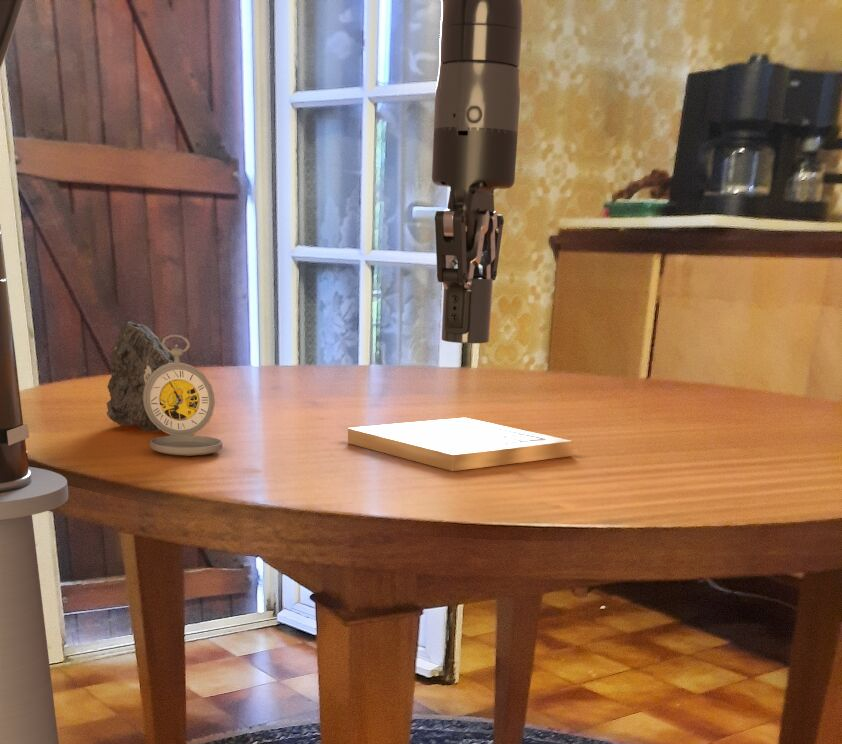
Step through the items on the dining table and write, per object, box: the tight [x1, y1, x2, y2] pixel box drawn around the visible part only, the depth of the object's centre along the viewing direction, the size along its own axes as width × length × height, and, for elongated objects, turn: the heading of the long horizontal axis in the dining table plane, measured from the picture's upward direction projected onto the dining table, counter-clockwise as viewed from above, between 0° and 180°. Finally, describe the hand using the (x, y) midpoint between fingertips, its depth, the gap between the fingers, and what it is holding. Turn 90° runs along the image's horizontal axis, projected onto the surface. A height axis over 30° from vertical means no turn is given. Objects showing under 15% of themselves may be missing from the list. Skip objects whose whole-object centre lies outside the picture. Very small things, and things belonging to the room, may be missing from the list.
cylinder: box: [441, 277, 494, 344], centre depth 102 cm, size 5×5×6 cm
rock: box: [106, 320, 198, 432], centre depth 111 cm, size 12×10×10 cm
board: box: [347, 417, 574, 472], centre depth 107 cm, size 16×16×2 cm
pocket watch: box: [143, 334, 223, 457], centre depth 99 cm, size 8×8×10 cm
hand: (465, 330), depth 103 cm, fingers closed on cylinder, 4 cm apart
